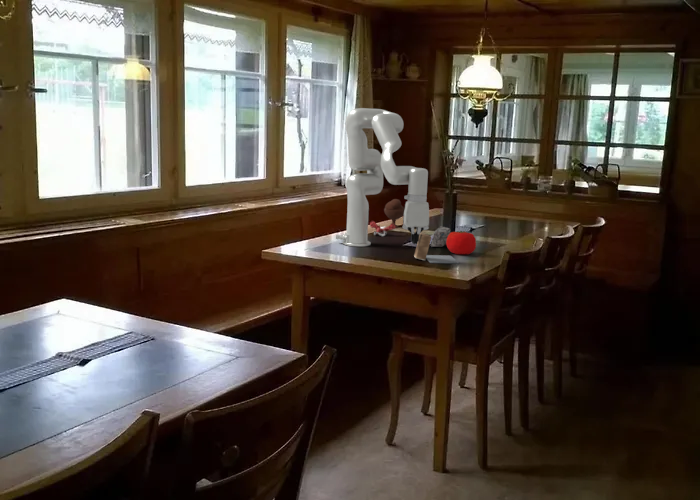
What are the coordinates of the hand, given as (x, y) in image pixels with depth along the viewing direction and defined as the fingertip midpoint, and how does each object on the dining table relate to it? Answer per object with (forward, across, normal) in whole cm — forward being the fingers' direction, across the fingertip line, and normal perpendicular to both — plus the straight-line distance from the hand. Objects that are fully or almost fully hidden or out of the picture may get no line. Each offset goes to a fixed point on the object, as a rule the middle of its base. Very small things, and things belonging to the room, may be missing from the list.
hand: (414, 243), depth 302 cm
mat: (+7, +11, 0) cm, 13 cm away
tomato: (+7, +23, +13) cm, 28 cm away
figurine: (+7, -5, +56) cm, 57 cm away
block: (+6, +2, 0) cm, 7 cm away
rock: (+7, +18, +31) cm, 37 cm away
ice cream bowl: (+7, +6, +80) cm, 81 cm away
